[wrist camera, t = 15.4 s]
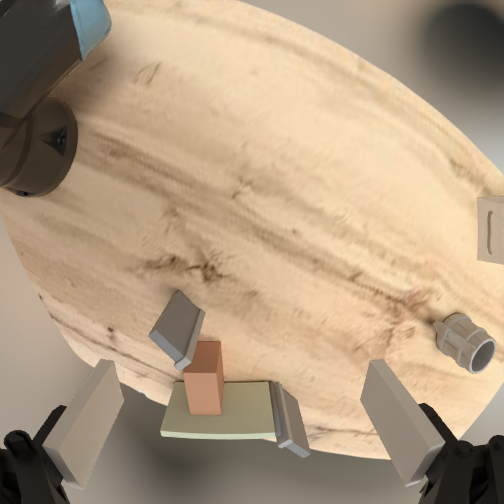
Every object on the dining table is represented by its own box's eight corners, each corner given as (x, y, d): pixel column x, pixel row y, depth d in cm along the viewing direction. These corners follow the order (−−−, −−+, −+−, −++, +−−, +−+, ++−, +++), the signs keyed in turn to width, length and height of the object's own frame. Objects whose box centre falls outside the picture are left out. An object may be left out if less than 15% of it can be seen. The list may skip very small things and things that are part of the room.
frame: (171, 296, 39) (145, 339, 27) (180, 288, 39) (156, 329, 27) (289, 405, 43) (302, 461, 31) (298, 399, 43) (313, 455, 31)
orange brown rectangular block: (192, 341, 40) (182, 372, 33) (220, 341, 40) (216, 373, 33) (197, 380, 42) (190, 414, 34) (223, 380, 42) (221, 415, 34)
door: (177, 391, 42) (163, 440, 31) (175, 381, 41) (160, 430, 30) (273, 391, 42) (281, 442, 31) (273, 381, 42) (281, 432, 31)
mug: (450, 355, 43) (487, 388, 31) (412, 337, 42) (452, 375, 30) (472, 319, 42) (513, 346, 30) (436, 296, 41) (482, 325, 29)
